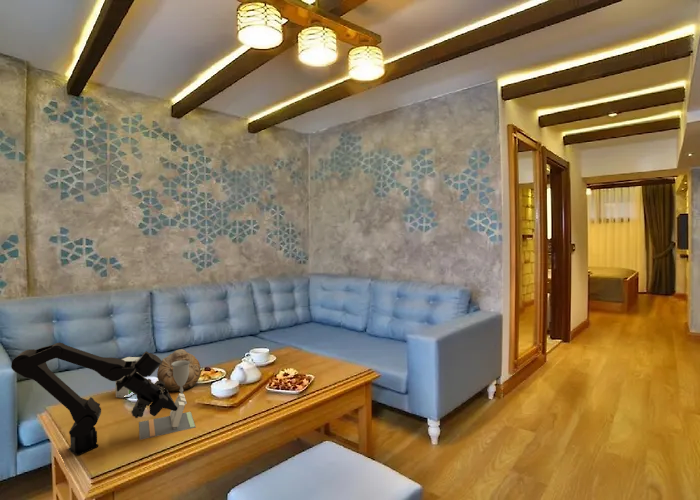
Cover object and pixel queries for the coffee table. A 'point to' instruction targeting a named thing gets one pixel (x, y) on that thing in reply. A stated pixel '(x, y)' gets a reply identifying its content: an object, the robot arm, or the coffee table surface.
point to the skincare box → (123, 390)
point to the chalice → (181, 373)
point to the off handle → (178, 414)
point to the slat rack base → (166, 423)
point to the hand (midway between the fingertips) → (176, 409)
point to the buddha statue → (167, 370)
